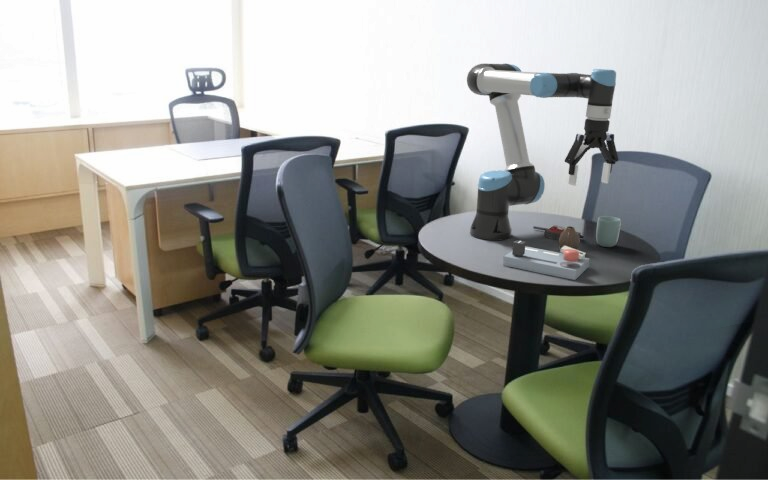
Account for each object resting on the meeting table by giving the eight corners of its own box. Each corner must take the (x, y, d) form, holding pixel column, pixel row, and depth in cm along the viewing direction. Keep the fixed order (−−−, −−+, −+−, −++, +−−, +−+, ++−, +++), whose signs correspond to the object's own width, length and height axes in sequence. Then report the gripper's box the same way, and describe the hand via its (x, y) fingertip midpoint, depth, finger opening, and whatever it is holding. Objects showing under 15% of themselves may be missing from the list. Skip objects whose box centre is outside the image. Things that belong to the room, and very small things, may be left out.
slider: (512, 254, 203) (513, 242, 201) (515, 252, 205) (516, 239, 204) (521, 256, 201) (522, 243, 200) (524, 253, 204) (525, 241, 202)
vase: (554, 251, 219) (556, 227, 217) (563, 247, 224) (565, 223, 222) (572, 256, 215) (575, 231, 212) (581, 251, 220) (584, 227, 217)
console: (502, 265, 203) (504, 252, 202) (519, 253, 215) (520, 241, 214) (574, 280, 191) (576, 266, 190) (588, 267, 204) (589, 254, 202)
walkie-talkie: (585, 239, 237) (533, 230, 247) (586, 227, 236) (534, 219, 246) (578, 244, 230) (525, 234, 240) (579, 232, 228) (526, 223, 239)
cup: (618, 249, 224) (622, 222, 221) (595, 247, 225) (599, 220, 222) (615, 243, 231) (619, 216, 228) (593, 241, 232) (596, 215, 230)
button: (561, 259, 194) (562, 251, 193) (565, 256, 198) (566, 248, 197) (575, 262, 192) (576, 254, 191) (579, 259, 195) (580, 251, 195)
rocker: (559, 251, 202) (561, 248, 201) (563, 248, 205) (564, 245, 205) (581, 259, 199) (582, 255, 198) (584, 256, 202) (586, 252, 201)
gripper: (574, 120, 196) (565, 188, 203) (636, 120, 206) (625, 184, 212) (558, 117, 203) (550, 182, 209) (619, 117, 212) (609, 179, 219)
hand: (588, 183), depth 211 cm, fingers open, 13 cm apart
